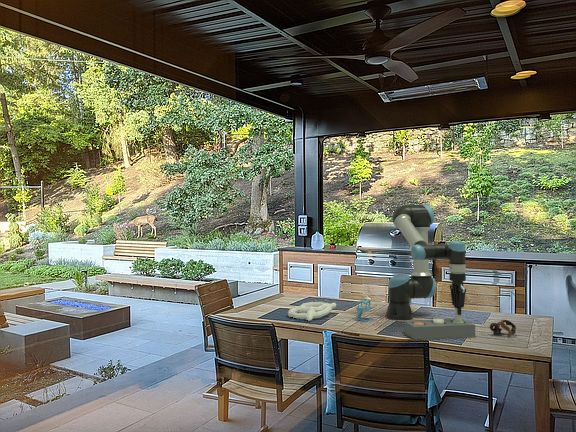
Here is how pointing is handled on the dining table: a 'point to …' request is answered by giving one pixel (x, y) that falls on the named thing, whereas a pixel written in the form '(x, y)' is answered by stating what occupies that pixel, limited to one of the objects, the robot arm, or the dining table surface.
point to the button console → (439, 329)
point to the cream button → (438, 321)
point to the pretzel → (311, 310)
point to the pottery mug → (497, 325)
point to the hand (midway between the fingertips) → (458, 320)
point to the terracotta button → (418, 323)
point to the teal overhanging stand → (361, 309)
